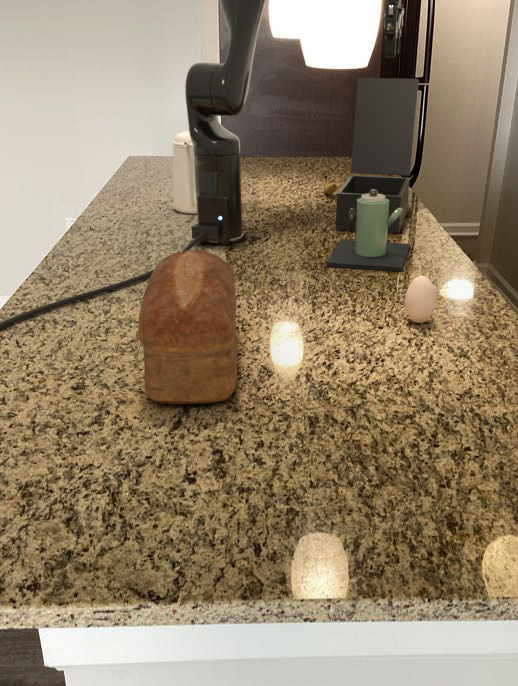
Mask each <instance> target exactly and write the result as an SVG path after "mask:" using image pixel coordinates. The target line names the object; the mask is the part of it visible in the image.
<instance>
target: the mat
mask: <svg viewBox="0 0 518 686" xmlns="http://www.w3.org/2000/svg"><path fill="white" fill-rule="evenodd" d="M410 248H411V245H410V243H403V242H402V243H399V242H387V246H386V254H385V255H383V256H378V257H365V256H360V255H357V254H356V253H355V240H353V239H352V240H351V239H340V241H338V243H337V245H336V247H335V249H334V250H333V252H332V254H331V255H330V257H329V258H328V260H327V262H326V268H327V267H328V268H341V269H342V268H343V269H355V270H356V269H357V270H373V271H386V272H387V271H388V272H401V273H402V272H403V270H404V266H405V263H406V261H407V257H408V254H409V251H410Z"/></svg>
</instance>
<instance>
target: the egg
mask: <svg viewBox="0 0 518 686" xmlns="http://www.w3.org/2000/svg"><path fill="white" fill-rule="evenodd" d="M436 304H437V293H436V289H435V285H434V284H433V282H432V280H431V279H430V278H428V277H427V276H425V275H419V276H416V277H415V278H414V279H413V280H412V281H411V283H410V284H409V285H408V288H407V289H406V293H405V298H404V308H405V311H406V314H407V316H408V318H409V319H410V320H411V321H412V322H413V323H416V324H422V323H425V322H427V321H428V320H429V319H430V318H431V317H432V315H433V314H434V311H435V309H436Z"/></svg>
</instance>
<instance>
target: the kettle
mask: <svg viewBox="0 0 518 686" xmlns="http://www.w3.org/2000/svg"><path fill="white" fill-rule="evenodd" d="M402 212H403V210H402V208H397V209H396V211H395V212H394V213H393V214H392V215H391V216H390V217H389V218H388V213H389V200H388V199H386V198H385V195H383V194H378V192H377V190H375V189H372V190H370V192H369V193H368V194H363V195H362V198H359V199H357V215H356V231H354V217H355V210H354V208H351V209H350V210H349V231H348V232H349V233H353V232H355V240H354V241H355V253H356V254H357V255H360V256H365V257H378V256H383V255H385V254H386V246H387V243H388V233H387V230H388V227H389V226H390V225H391V224H392V223H393V222H394V221H395V220H396V219H397V218H398V217H399V216H400V215H401V214H402Z"/></svg>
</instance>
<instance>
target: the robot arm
mask: <svg viewBox="0 0 518 686" xmlns="http://www.w3.org/2000/svg"><path fill="white" fill-rule="evenodd" d="M266 3H267V0H219V4H220V7H221V12H222V14H223V17H224V19H225V22H226V26H227V30H228V33H229V44H228V51H227V55H226V59H225V61H224V62H223V63H222V62H221V63H218V62H197V63H196V62H195V63H194V64H192V65H191V66H190V67H189V69H188V71H187V73H186V78H185V85H184V87H185V89H184V91H185V92H184V93H185V103H186V115H187V122H188V125H189V129H188V132H189V134H190V138H191V141H192V144H193V151H194V170H195V188H196V207H197V214H196V223H193V225H191V227H190V228H191V239H193V240H191V242H189V243H188V245H187V246H186V247H184V249H183V250H182V251H181V252H184V251H187V250H192V248H193V247H194V246H195V245H196V244H197V243H199V244H211V245H225V246H227V245H228V246H229V245H231V244H234V243H237V242H241V240H243V239H244V232H243V208H242V207H243V204H242V171H241V170H242V169H241V167H242V166H241V165H242V164H241V140H240V137H238V135H236V134H234V133H233V132H231V131H230V130H228V129H227V128H225V127H224V126H223V125H222V124H221V122H220V121H219V117H236V116H238V115H240V114H241V113H242V111H243V109H244V107H245V105H246V102H247V100H248V94H249V91H250V84H251V77H252V70H253V64H254V58H255V57H254V56H255V52H256V45H257V41H258V35H259V31H260V27H261V22H262V18H263V14H264V10H265V7H266ZM383 14H384V23H383V27H384V29H383V30H384V31H383V36H384V39H385V46H384V57H385V58H386V59H394V58H395V57H396V56H398V55H399V54H400V37H401V35H402V32H403V26H404V14H405V8H404V4H402V0H387V4H386V5H385V6H384V13H383ZM153 271H154V269H151V270H150V271H147V272H145V273H142V274H140V275H137V276H134V277H131V278H128V279H126V280H123V281H119V282H117V283H113V284H109V285H106V286H104V287H100V288H97V289H94V290H90V291H87V292H83V293H80V294H76V295H73V296H69V297H66V298H63V299H61V300H58V301H54V302H51V303H48V304H45V305H41V306H39V307H36V308H33V309H31V310H28V311H25V312H23V313H20V314H18V315H15V316H13V317H11V318H10V317H9V318H8V319H5V320H4V321H1V322H0V330H2V329H4V328H7V327H8V326H11V325H12V324H15V323H18V322H19V321H23V320H25V319H28V318H31V317H32V316H35V315H38V314H41V313H44V312H46V311H49V310H52V309H55V308H58V307H61V306H65V305H68V304H71V303H74V302H77V301H80V300H83V299H86V298H90V297H91V298H92V297H95V296H98V295H101V294H105V293H107V292H110V291H114V290H117V289H120V288H122V287H125V286H129V285H132V284H135V283H138V282H140V281H143V280H145V279H147V278H150V277H151V274H152V273H153Z"/></svg>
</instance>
